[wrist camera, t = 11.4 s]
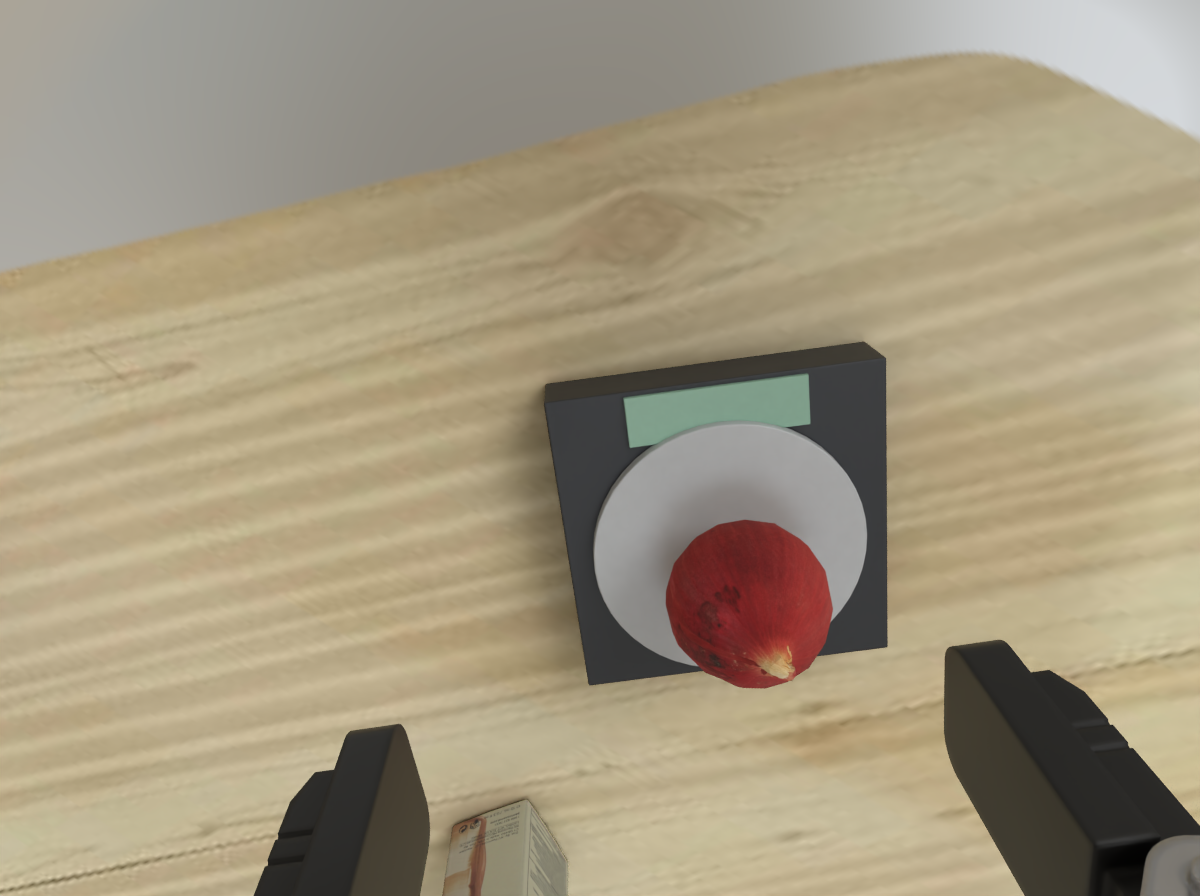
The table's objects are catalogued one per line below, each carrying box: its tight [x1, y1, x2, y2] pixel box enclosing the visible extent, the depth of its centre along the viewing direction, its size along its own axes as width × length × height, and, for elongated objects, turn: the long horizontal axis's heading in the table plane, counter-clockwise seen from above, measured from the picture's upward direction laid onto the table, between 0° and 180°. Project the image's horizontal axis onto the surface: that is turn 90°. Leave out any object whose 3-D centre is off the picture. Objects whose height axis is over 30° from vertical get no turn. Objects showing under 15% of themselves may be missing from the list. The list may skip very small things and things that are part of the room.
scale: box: [544, 342, 887, 685], centre depth 35 cm, size 13×13×3 cm
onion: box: [666, 520, 833, 688], centre depth 31 cm, size 6×6×8 cm
